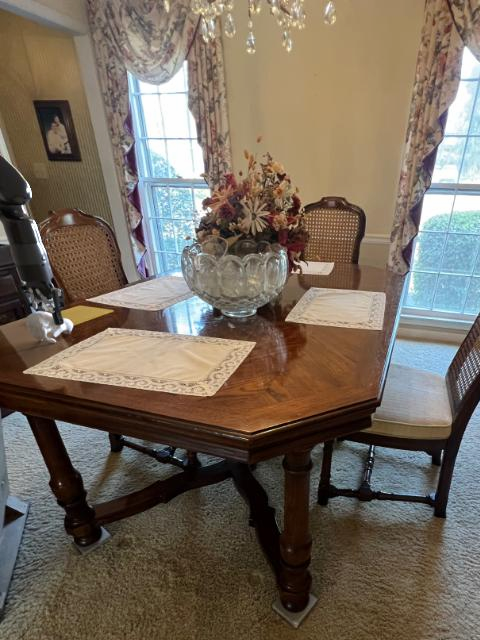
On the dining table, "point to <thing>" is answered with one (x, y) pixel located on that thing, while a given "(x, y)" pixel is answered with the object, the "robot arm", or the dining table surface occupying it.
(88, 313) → the cloth
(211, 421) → the dining table surface
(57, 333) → the white animal figurine
